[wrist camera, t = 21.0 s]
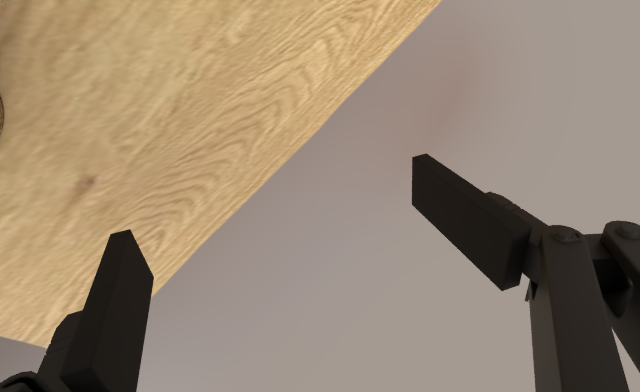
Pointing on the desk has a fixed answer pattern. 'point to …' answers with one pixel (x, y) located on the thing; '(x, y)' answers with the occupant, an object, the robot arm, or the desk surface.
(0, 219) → the desk surface
